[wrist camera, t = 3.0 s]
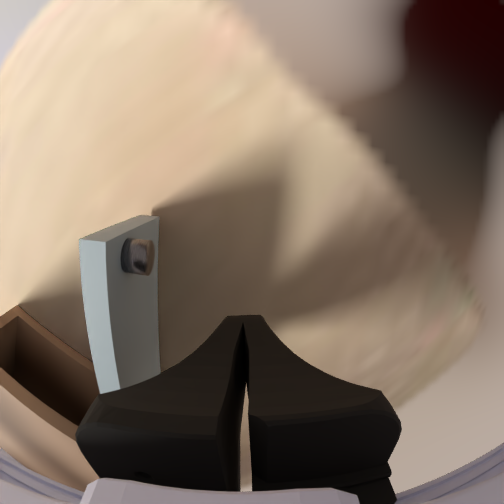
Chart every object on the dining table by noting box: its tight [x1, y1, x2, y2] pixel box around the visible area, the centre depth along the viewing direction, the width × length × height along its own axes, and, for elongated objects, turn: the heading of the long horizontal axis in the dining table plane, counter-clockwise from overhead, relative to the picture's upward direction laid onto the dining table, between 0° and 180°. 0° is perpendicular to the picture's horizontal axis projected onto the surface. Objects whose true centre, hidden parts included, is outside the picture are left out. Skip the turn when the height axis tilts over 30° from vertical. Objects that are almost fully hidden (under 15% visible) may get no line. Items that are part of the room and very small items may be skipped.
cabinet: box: [0, 305, 100, 492], centre depth 11 cm, size 9×9×5 cm
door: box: [79, 215, 161, 394], centre depth 10 cm, size 2×9×5 cm, turn 173°
